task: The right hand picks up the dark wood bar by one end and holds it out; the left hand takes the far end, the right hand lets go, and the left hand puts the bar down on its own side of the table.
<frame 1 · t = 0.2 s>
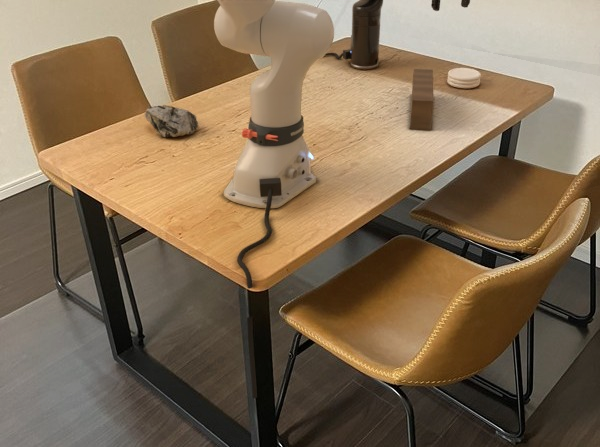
right hand: (450, 8, 160), 28 cm above the table, tool pointing down, fingers open, 8 cm apart
rock: (172, 129, 167), on the table
bar: (420, 111, 175), on the table
coaster: (463, 84, 193), on the table
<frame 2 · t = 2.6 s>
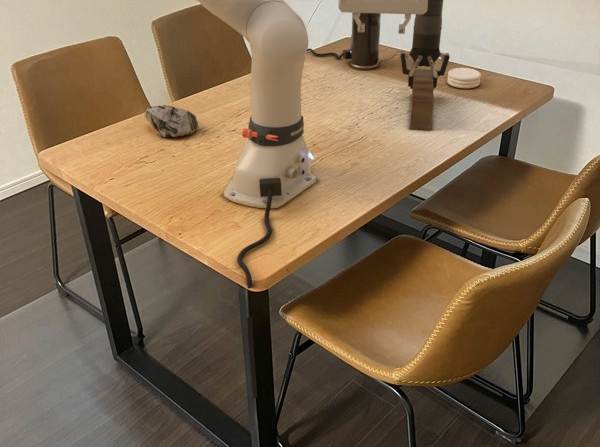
left hand: (381, 32, 145), 27 cm above the table, tool pointing down, fingers open, 8 cm apart
right hand: (421, 88, 180), 4 cm above the table, tool pointing down, fingers closed on bar, 5 cm apart
bar: (420, 111, 175), on the table, touching right hand
everything else where it was.
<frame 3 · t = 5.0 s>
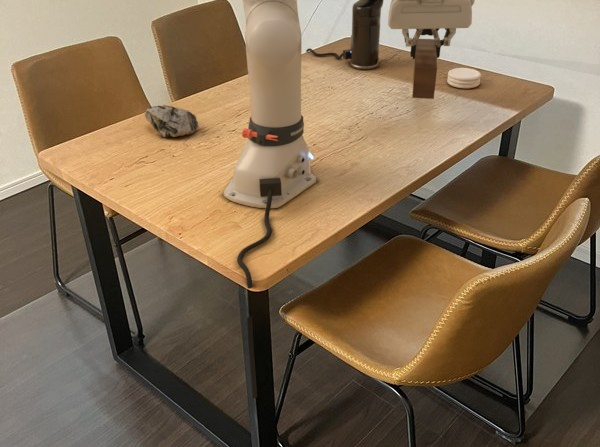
left hand: (427, 45, 156), 21 cm above the table, tool pointing down, fingers open, 8 cm apart
right hand: (424, 58, 176), 12 cm above the table, tool pointing down, fingers closed on bar, 5 cm apart
bar: (423, 81, 170), point 9 cm above the table, touching right hand
everything else where it was.
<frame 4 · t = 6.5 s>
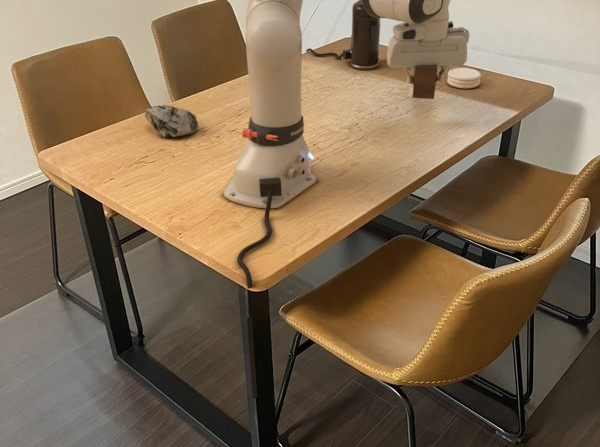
left hand: (424, 82, 161), 12 cm above the table, tool pointing down, fingers closed on bar, 6 cm apart
right hand: (424, 58, 176), 12 cm above the table, tool pointing down, fingers closed on bar, 5 cm apart
bar: (423, 81, 171), point 9 cm above the table, touching left hand, right hand
everything else where it was.
when the right hand's fingers open (12 cm above the table, at t = 7.8 s): bar stays where it is, held by the left hand.
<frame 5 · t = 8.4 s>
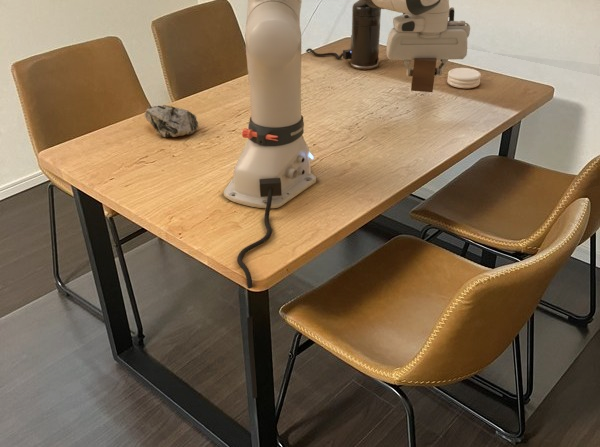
left hand: (423, 75, 160), 13 cm above the table, tool pointing down, fingers closed on bar, 6 cm apart
right hand: (425, 45, 175), 16 cm above the table, tool pointing down, fingers open, 8 cm apart
bar: (424, 75, 169), point 10 cm above the table, touching left hand
everything else where it was.
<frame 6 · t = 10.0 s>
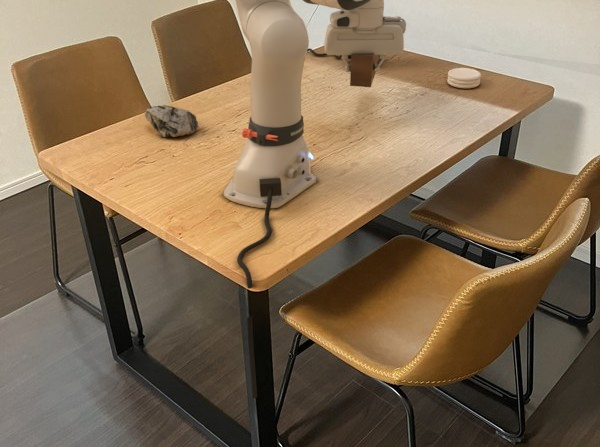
left hand: (362, 71, 162), 14 cm above the table, tool pointing down, fingers closed on bar, 6 cm apart
bar: (366, 70, 171), point 11 cm above the table, touching left hand
everything else where it was.
when the left hand's fingers open (4 cm above the table, at t = 13.5 s): bar stays where it is, on the table.
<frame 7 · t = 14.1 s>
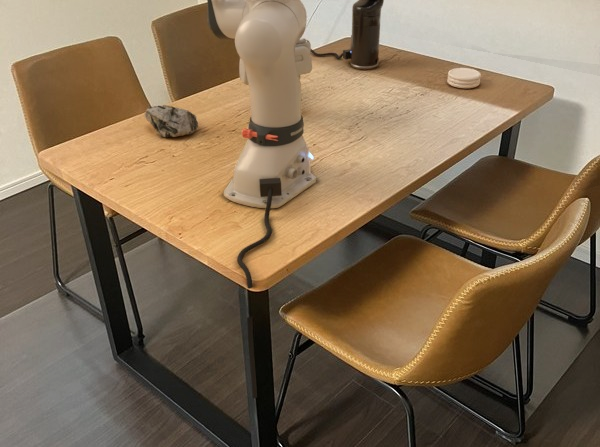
left hand: (277, 93, 170), 7 cm above the table, tool pointing down, fingers open, 8 cm apart
bar: (272, 104, 181), on the table
everything else where it was.
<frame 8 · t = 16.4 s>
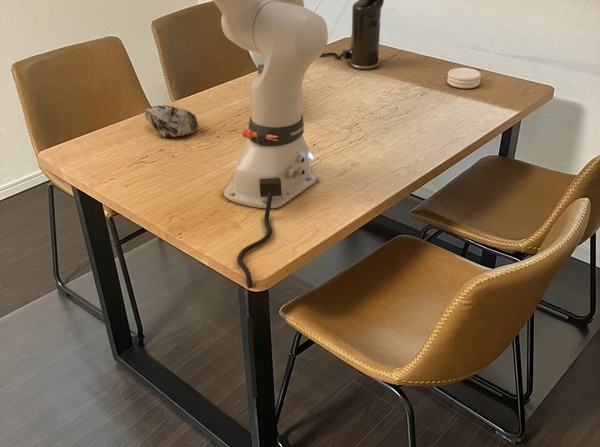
left hand: (267, 37, 162), 22 cm above the table, tool pointing down, fingers open, 8 cm apart
nothing on the table moved.
at the end: bar inside the target area (8.6 cm from its centre), on the table; the left hand is holding nothing; the right hand is holding nothing; bar at rest at the end (0.0 cm/s) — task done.
